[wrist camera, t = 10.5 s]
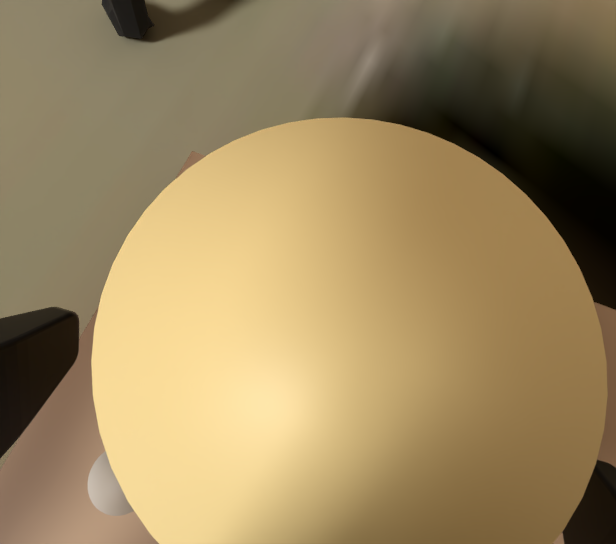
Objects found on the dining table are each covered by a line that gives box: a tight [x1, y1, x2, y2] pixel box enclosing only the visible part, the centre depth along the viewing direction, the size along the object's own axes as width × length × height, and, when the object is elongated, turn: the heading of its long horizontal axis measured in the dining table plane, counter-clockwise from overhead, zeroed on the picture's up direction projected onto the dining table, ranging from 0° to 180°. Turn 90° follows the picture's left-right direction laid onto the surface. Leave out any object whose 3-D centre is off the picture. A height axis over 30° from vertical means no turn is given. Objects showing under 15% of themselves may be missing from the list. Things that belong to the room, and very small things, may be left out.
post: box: [91, 118, 608, 544], centre depth 9 cm, size 4×4×11 cm
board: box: [0, 151, 616, 544], centre depth 13 cm, size 26×14×4 cm, turn 68°
